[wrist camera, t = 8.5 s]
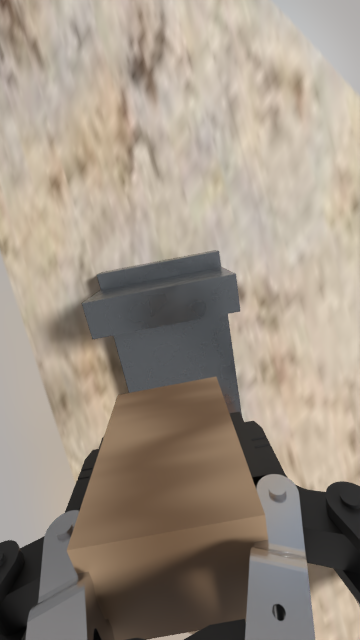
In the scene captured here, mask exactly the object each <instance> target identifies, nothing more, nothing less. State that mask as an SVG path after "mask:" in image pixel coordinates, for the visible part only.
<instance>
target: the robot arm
mask: <svg viewBox="0 0 360 640" xmlns="http://www.w3.org/2000/svg"><path fill="white" fill-rule="evenodd" d="M229 414H230V417H231V420H232V422H233V425H234V428H235V431H236V434H237V437H238V439H239V442H240V445H241V448H242V451H243V454H244V456H245V459H246V462H247V465H248V468H249V471H250V473H251V476H252V479H253V482H254V485H255V488H256V490H257V493H258V496H259V499H260V502H261V505H262V507H263V510H264V513H265V518H266V526H267V534H268V540H263V541H257V542H254V544H253V547H251V551H250V563H249V580H248V597H247V613H246V621H245V619H240V620H235V621H229V622H223V623H217V624H212V625H209V626H207V627H205V628H203V629H202V630H200V631H198V632H196V633H195V634H193V635H191V636H189V637H188V638H186V639H184V640H315V632H314V623H313V614H312V605H311V595H310V586H309V577H308V568H307V563H311V564H316V565H321V566H326V567H330V568H334V570H335V571H336V572H337V574H338V575H339V577H340V578H341V579H342V581H343V582H344V583H345V585H346V586H347V587H348V589H349V590H350V592H351V593H352V594H353V596H354V597H355V599H356V601H357V603H358V605H359V607H360V486H358V485H355V484H353V483H349V482H335V483H333V484H331V485H330V486H329V487H328V488H327V491H326V492H321V491H313V490H307V489H304V488H301V487H299V486H297V485H295V484H294V483H293V482H292V481H291V480H290V479H288V478H287V476H286V475H285V473H284V471H283V469H282V467H281V465H280V463H279V461H278V459H277V457H276V455H275V453H274V451H273V449H272V447H271V446H270V443H269V441H268V439H267V438H266V435H265V433H264V431H263V429H262V427H261V426H259V425H258V424H257V423H256V422H254V421H250V422H244V421H243V418H242V416H241V413H240V412H234V413H229ZM103 438H104V437H103ZM103 438H102V441H103ZM102 441H101V444H102ZM101 444H100V447H99V449H96V450H93V451H92V452H91V453H90V454H89V456H88V457H87V458H86V459H85V461H84V464H83V467H82V469H81V472H80V474H79V477H78V481H77V482H76V485H75V487H74V490H73V493H72V495H71V498H70V501H69V503H68V506H67V508H66V511H65V513H64V514H62V515H60V516H59V517H58V518H57V519H55V520H54V522H53V523H52V524H51V525H50V526H49V528H48V529H47V531H46V534H45V536H44V537H42V538H40V539H38V540H36V541H34V542H32V543H30V544H28V545H26V546H24V547H22V548H19V546H18V544H17V543H16V542H15V541H12V540H10V541H9V540H8V541H4V542H1V543H0V640H115V639H114V634H113V628H112V626H111V624H110V621H109V619H105V618H104V616H103V614H102V611H101V609H100V607H99V604H98V602H97V599H96V595H95V589H94V583H93V581H92V578H91V576H90V573H89V572H84V573H78V574H77V573H76V571H75V569H74V567H73V564H72V562H71V560H70V558H69V555H68V553H67V548H68V544H69V541H70V538H71V535H72V532H73V529H74V526H75V523H76V520H77V517H78V514H79V511H80V508H81V505H82V502H83V499H84V496H85V493H86V490H87V487H88V484H89V481H90V478H91V475H92V472H93V469H94V466H95V463H96V460H97V457H98V454H99V451H100V448H101ZM126 640H146V639H141V638H132V639H126Z"/></svg>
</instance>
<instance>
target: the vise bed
mask: <svg viewBox="0 0 360 640" xmlns="http://www.w3.org/2000/svg"><path fill="white" fill-rule="evenodd" d="M97 278H98V281H99V285H100V289H101V290H100V291H98V292H97V293H96V294H94V295H93V296H91V297H90V298H89V299H87V300H86V301H84V302H83V303H82V306H83V309H84V312H85V316H86V319H87V322H88V326H89V329H90V332H91V336H92V339H97V338H102V337H107V336H114V339H115V343H116V347H117V350H118V354H119V358H120V361H121V365H122V369H123V372H124V376H125V379H126V383H127V387H128V390H129V393H131V392H137V391H142V390H147V389H153V388H158V387H163V386H169V385H174V384H179V383H185V382H190V381H195V380H201V379H206V378H211V377H217V380H218V383H219V386H220V388H221V391H222V394H223V397H224V400H225V403H226V405H227V408H228V411H229V413H234V412H240V413H241V407H240V400H239V392H238V385H237V378H236V371H235V364H234V357H233V349H232V342H231V335H230V328H229V321H228V314H229V313H234V312H239V311H240V304H239V296H238V288H237V280H236V274H235V273H233V272H231V271H229V270H227V269H225V268H223V267H221V263H220V256H219V251H216V250H215V251H210V252H205V253H199V254H194V255H189V256H184V257H179V258H173V259H168V260H163V261H158V262H153V263H148V264H142V265H137V266H132V267H127V268H122V269H117V270H111V271H106V272H101V273H99V274H97ZM241 416H242V414H241Z"/></svg>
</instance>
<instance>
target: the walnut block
mask: <svg viewBox="0 0 360 640" xmlns="http://www.w3.org/2000/svg"><path fill="white" fill-rule="evenodd" d="M263 540H268V534H267V526H266V518H265V513H264V510H263V507H262V505H261V502H260V499H259V496H258V493H257V490H256V488H255V485H254V482H253V479H252V476H251V473H250V471H249V468H248V465H247V462H246V459H245V456H244V454H243V451H242V448H241V445H240V442H239V439H238V437H237V434H236V431H235V428H234V425H233V422H232V420H231V417H230V414H229V411H228V408H227V405H226V403H225V400H224V397H223V394H222V391H221V388H220V386H219V383H218V380H217V377H211V378H206V379H201V380H195V381H190V382H185V383H179V384H174V385H169V386H163V387H158V388H153V389H147V390H142V391H137V392H131V393H126V394H121V395H118V396H117V399H116V402H115V405H114V408H113V411H112V414H111V417H110V420H109V423H108V426H107V429H106V432H105V435H104V438H103V441H102V444H101V448H100V451H99V454H98V457H97V460H96V463H95V466H94V469H93V472H92V475H91V478H90V481H89V484H88V487H87V490H86V493H85V496H84V499H83V502H82V505H81V508H80V511H79V514H78V517H77V520H76V523H75V526H74V529H73V532H72V535H71V538H70V541H69V544H68V548H67V553H68V555H69V558H70V560H71V562H72V564H73V567H74V569H75V571H76V573H77V574H78V573H84V572H89V573H90V576H91V578H92V581H93V583H94V589H95V595H96V599H97V602H98V604H99V607H100V609H101V611H102V614H103V616H104V618H105V619H109V621H110V624H111V626H112V628H113V634H114V639H115V640H126V639H132V638H141V639H152V638H157V637H163V636H168V635H174V634H180V633H186V632H192V631H197V630H202V629H203V628H205V627H207V626H209V625H212V624H217V623H223V622H229V621H235V620H240V619H245V621H246V613H247V597H248V580H249V563H250V551H251V547H253V544H254V542H257V541H263Z"/></svg>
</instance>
